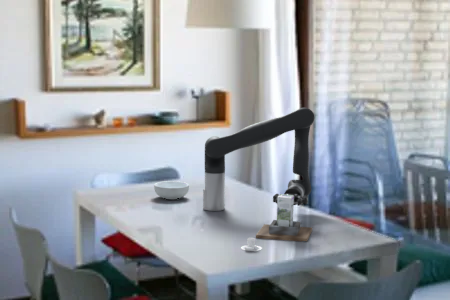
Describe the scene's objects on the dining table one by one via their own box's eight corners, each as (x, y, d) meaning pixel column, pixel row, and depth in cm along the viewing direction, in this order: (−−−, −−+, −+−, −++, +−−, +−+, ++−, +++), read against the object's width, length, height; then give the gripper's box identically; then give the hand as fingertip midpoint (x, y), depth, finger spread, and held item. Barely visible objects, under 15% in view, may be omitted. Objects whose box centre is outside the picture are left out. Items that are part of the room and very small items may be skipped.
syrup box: (293, 229, 292) (294, 194, 290) (290, 233, 287) (291, 197, 284) (279, 228, 294) (280, 193, 292) (276, 232, 288) (277, 196, 286)
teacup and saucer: (251, 254, 264) (251, 243, 263) (234, 249, 269) (235, 239, 268) (266, 249, 270) (266, 238, 269) (250, 245, 275) (250, 234, 275)
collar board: (255, 238, 284) (256, 227, 283) (264, 227, 301) (264, 217, 301) (306, 241, 279) (307, 231, 279) (312, 230, 297) (312, 220, 296)
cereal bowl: (150, 201, 348) (150, 186, 347) (159, 194, 364) (159, 180, 363) (184, 202, 346) (184, 188, 344) (192, 195, 362) (192, 181, 361)
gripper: (277, 185, 313) (271, 192, 298) (310, 187, 310) (305, 194, 294) (277, 202, 314) (270, 210, 299) (310, 204, 311) (305, 212, 295)
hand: (288, 202), depth 296 cm, fingers open, 8 cm apart
